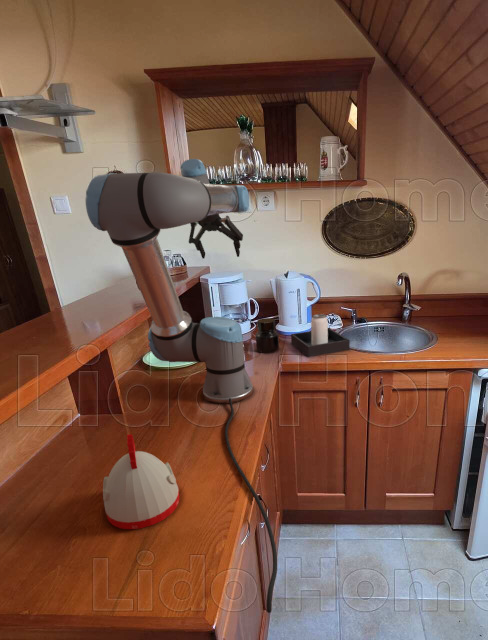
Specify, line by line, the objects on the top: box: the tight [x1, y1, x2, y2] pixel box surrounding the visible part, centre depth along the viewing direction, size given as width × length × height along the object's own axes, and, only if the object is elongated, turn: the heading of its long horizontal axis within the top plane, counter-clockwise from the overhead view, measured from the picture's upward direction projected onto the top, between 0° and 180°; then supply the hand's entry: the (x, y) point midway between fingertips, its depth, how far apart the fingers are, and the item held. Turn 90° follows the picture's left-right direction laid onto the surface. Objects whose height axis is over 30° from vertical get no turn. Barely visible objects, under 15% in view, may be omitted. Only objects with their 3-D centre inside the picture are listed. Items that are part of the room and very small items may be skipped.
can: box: [310, 313, 329, 345], centre depth 166 cm, size 6×6×12 cm
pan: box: [290, 327, 350, 358], centre depth 168 cm, size 18×18×4 cm
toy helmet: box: [102, 433, 181, 530], centre depth 81 cm, size 14×14×15 cm
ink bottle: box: [255, 317, 280, 354], centre depth 165 cm, size 10×9×12 cm
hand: (221, 255), depth 161 cm, fingers open, 13 cm apart
